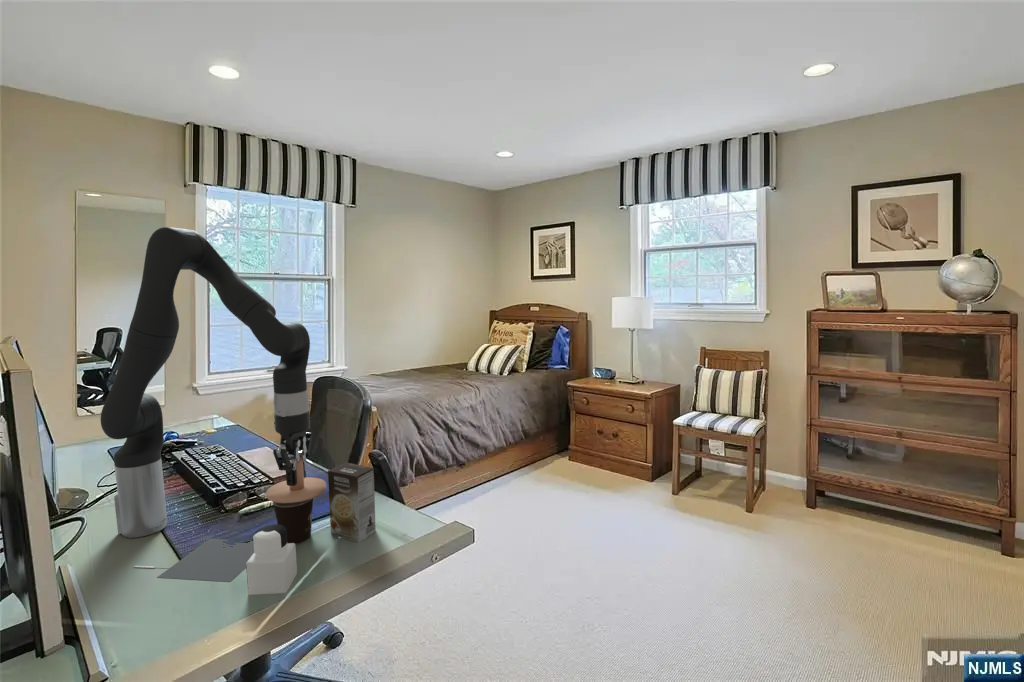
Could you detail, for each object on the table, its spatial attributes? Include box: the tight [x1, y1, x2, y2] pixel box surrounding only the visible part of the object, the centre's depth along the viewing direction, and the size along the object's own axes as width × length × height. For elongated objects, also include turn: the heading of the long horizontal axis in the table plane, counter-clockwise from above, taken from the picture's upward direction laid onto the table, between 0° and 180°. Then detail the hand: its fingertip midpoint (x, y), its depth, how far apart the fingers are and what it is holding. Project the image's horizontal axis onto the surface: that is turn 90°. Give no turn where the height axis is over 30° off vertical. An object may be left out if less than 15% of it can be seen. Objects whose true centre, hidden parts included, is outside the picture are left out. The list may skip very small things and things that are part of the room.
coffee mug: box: [272, 498, 314, 545], centre depth 125 cm, size 12×9×10 cm
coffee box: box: [327, 461, 377, 543], centre depth 126 cm, size 9×6×16 cm
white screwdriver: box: [133, 565, 170, 570], centre depth 111 cm, size 1×19×1 cm, turn 84°
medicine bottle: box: [245, 524, 298, 596], centre depth 105 cm, size 7×7×12 cm
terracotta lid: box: [266, 459, 328, 503], centre depth 124 cm, size 13×13×7 cm
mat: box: [156, 538, 254, 583], centre depth 115 cm, size 16×16×1 cm
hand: (296, 481), depth 124 cm, fingers closed on terracotta lid, 3 cm apart
